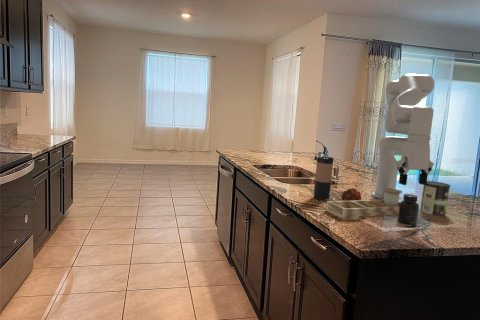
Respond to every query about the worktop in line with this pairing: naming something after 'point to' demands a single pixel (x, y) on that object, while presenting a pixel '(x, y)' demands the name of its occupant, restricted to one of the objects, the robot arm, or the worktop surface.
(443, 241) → the worktop surface
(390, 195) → the canister
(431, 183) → the coffee can
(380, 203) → the rack
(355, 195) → the dragon fruit
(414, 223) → the supplement bottle
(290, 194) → the worktop surface
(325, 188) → the travel mug
